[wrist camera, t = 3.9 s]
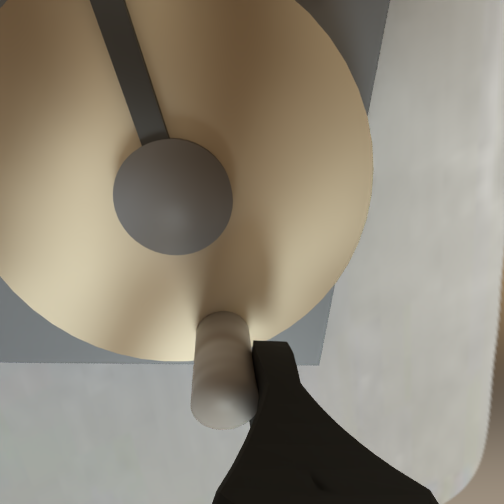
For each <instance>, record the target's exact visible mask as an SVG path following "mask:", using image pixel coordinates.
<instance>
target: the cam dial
mask: <svg viewBox="0 0 504 504" xmlns="http://www.w3.org/2000/svg"><path fill="white" fill-rule="evenodd" d="M372 181H373V152H372V140H371V134H370V129H369V123H368V118H367V114H366V111H365V108H364V105H363V101H362V98H361V95H360V92H359V89H358V87H357V85H356V83H355V80H354V78H353V76H352V74H351V72H350V70H349V68H348V66H347V63H346V62H345V60H344V59H343V57H342V55H341V54H340V52H339V51H338V49H337V48H336V46H335V45H334V43H333V41H332V40H331V38H330V37H329V36H328V34H327V33H326V32H325V31H324V30H323V29H322V27H321V26H320V25H319V24H318V23H317V22H316V20H315V19H314V18H313V17H312V16H311V15H310V13H309V12H307V11H306V10H305V9H304V8H303V7H302V6H301V5H300V4H298V3H297V2H296V1H295V0H7V1H6V2H5V4H4V5H3V6H2V7H1V8H0V277H1V278H2V279H3V280H4V281H5V282H6V284H7V285H8V286H9V287H10V288H11V289H12V290H13V292H14V293H16V294H17V295H18V296H19V297H20V298H21V299H22V300H23V301H24V302H25V303H26V304H27V305H28V306H30V307H31V308H32V309H33V310H34V311H36V312H37V313H38V314H40V315H41V316H42V317H44V318H45V319H46V320H48V321H49V322H51V323H52V324H53V325H55V326H57V327H58V328H60V329H62V330H64V331H65V332H67V333H69V334H70V335H72V336H74V337H76V338H78V339H81V340H83V341H85V342H87V343H89V344H92V345H94V346H96V347H99V348H102V349H105V350H108V351H111V352H114V353H117V354H121V355H126V356H131V357H135V358H140V359H148V360H157V361H194V367H193V380H192V393H191V411H192V413H193V415H194V417H195V418H196V419H197V420H198V421H199V422H200V423H201V424H203V425H205V426H207V427H209V428H212V429H218V430H227V429H233V428H237V427H240V426H242V425H244V424H245V423H247V422H248V421H250V420H251V419H252V418H253V417H254V416H255V414H256V412H257V406H258V399H259V394H258V389H257V383H256V378H255V373H254V366H253V359H252V347H253V340H258V341H267V340H269V339H271V338H272V337H274V336H276V335H278V334H279V333H281V332H283V331H284V330H286V329H288V328H289V327H291V326H292V325H293V324H294V323H296V322H297V321H298V320H300V319H301V318H302V317H304V316H305V315H306V314H307V313H308V312H309V311H310V310H312V309H313V308H314V307H315V306H316V305H317V304H318V303H319V302H320V301H321V300H322V299H323V298H324V296H325V295H326V294H327V293H328V292H329V290H330V289H331V288H332V287H333V286H334V284H335V283H336V282H337V280H338V279H339V277H340V276H341V274H342V273H343V271H344V269H345V268H346V266H347V265H348V263H349V261H350V259H351V257H352V255H353V253H354V251H355V249H356V247H357V245H358V243H359V240H360V237H361V234H362V231H363V228H364V225H365V222H366V219H367V214H368V209H369V205H370V200H371V194H372Z"/></svg>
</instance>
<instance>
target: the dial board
mask: <svg viewBox="0 0 504 504" xmlns="http://www.w3.org/2000/svg"><path fill="white" fill-rule="evenodd" d="M6 1H7V0H0V8H1V7H2V6H3V5H4V4H5V2H6ZM295 1H296V2H297V3H298V4H300V5H301V6H302V7H303V8H304V9H305V10H306V11H307V12H309V13H310V15H311V16H312V17H313V18H314V19H315V20H316V22H317V23H318V24H319V25H320V26H321V27H322V29H323V30H324V31H325V32H326V33H327V34H328V36H329V37H330V38H331V40H332V41H333V43H334V45H335V46H336V48H337V49H338V51H339V52H340V54H341V55H342V57H343V59H344V60H345V62H346V63H347V66H348V68H349V70H350V72H351V74H352V76H353V78H354V80H355V83H356V85H357V87H358V89H359V92H360V95H361V98H362V101H363V105H364V108H365V111H366V114H367V116H368V111H369V106H370V100H371V95H372V90H373V85H374V80H375V75H376V70H377V64H378V59H379V54H380V49H381V44H382V39H383V33H384V28H385V23H386V18H387V13H388V8H389V3H390V0H295ZM334 286H335V284H334ZM334 286H333V287H332V288H331V289H330V290H329V292H328V293H327V294H326V295H325V296H324V298H323V299H322V300H321V301H320V302H319V303H318V304H317V305H316V306H315V307H314V308H313V309H312V310H310V311H309V312H308V313H307V314H306V315H305V316H304V317H302V318H301V319H300V320H298V321H297V322H296V323H294V324H293V325H292V326H291V327H289V328H288V329H286V330H284V331H283V332H281V333H279V334H278V335H276V336H274V337H272V338H271V339H269V340H267V341H285V342H288V344H289V346H290V347H291V349H292V351H293V353H294V357H295V361H296V365H319V363H320V358H321V353H322V348H323V343H324V338H325V332H326V327H327V322H328V317H329V312H330V307H331V302H332V296H333V291H334ZM0 362H8V363H113V364H194V361H157V360H148V359H140V358H135V357H131V356H126V355H121V354H117V353H114V352H111V351H108V350H105V349H102V348H99V347H96V346H94V345H92V344H89V343H87V342H85V341H83V340H81V339H78V338H76V337H74V336H72V335H70V334H69V333H67V332H65V331H64V330H62V329H60V328H58V327H57V326H55V325H53V324H52V323H51V322H49V321H48V320H46V319H45V318H44V317H42V316H41V315H40V314H38V313H37V312H36V311H34V310H33V309H32V308H31V307H30V306H28V305H27V304H26V303H25V302H24V301H23V300H22V299H21V298H20V297H19V296H18V295H17V294H16V293H14V292H13V290H12V289H11V288H10V287H9V286H8V285H7V284H6V282H5V281H4V280H3V279H2V278H1V277H0Z"/></svg>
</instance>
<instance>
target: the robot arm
mask: <svg viewBox="0 0 504 504" xmlns="http://www.w3.org/2000/svg"><path fill="white" fill-rule="evenodd" d="M252 359H253V366H254V373H255V378H256V383H257V389H258V394H259V399H258V406H257V412H256V414H255V416H254V417H253V418H252V419H251V420H250V430H249V432H248V435H247V437H246V439H245V441H244V444H243V446H242V448H241V450H240V451H239V453H238V455H237V457H236V459H235V461H234V463H233V465H232V467H231V468H230V470H229V472H228V473H227V475H226V477H225V478H224V480H223V481H222V483H221V485H220V486H219V488H218V489H217V491H216V494H215V497H214V500H213V502H212V504H438V502H437V500H436V499H435V497H434V496H433V494H432V493H431V491H430V490H429V489H427V488H426V487H424V486H422V485H421V484H419V483H418V482H416V481H414V480H413V479H411V478H409V477H408V476H406V475H405V474H403V473H401V472H400V471H398V470H396V469H395V468H394V467H392V466H391V465H389V464H388V463H386V462H385V461H384V460H382V459H381V458H379V457H378V456H376V455H375V454H374V453H372V452H371V451H370V450H368V449H367V448H366V447H364V446H363V445H362V444H361V443H359V442H358V441H357V440H356V439H355V438H353V437H352V436H351V435H350V434H349V433H347V432H346V431H345V430H344V429H343V428H342V427H341V426H340V425H338V424H337V423H336V422H335V421H334V420H333V419H332V418H331V417H330V416H329V415H328V414H327V413H326V412H325V411H324V410H323V409H322V408H321V407H320V406H319V405H318V403H317V402H316V401H315V400H314V399H313V398H312V397H311V395H310V394H309V393H308V392H307V391H306V389H305V388H304V387H303V386H302V384H301V383H300V379H299V374H298V370H297V365H296V361H295V357H294V353H293V351H292V349H291V347H290V346H289V344H288V342H285V341H258V340H253V347H252Z"/></svg>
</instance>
